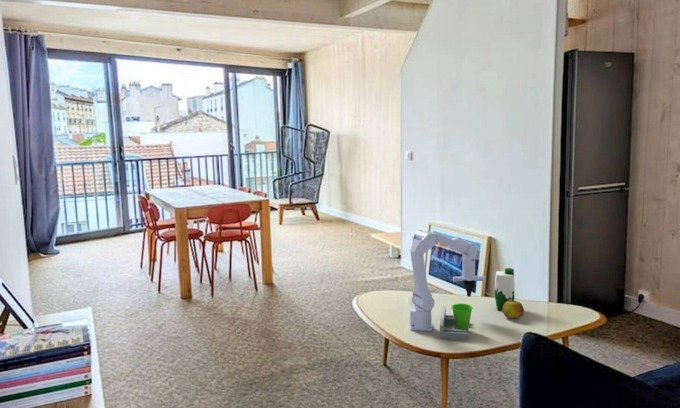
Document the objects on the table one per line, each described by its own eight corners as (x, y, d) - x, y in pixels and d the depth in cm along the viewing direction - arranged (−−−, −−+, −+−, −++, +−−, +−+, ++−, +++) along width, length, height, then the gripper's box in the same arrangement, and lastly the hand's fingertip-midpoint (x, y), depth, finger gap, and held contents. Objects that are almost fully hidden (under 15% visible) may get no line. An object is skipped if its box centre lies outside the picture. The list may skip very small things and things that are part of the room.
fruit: (515, 313, 236) (515, 297, 235) (528, 319, 227) (528, 302, 226) (498, 316, 233) (498, 299, 232) (510, 322, 225) (510, 305, 224)
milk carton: (514, 312, 237) (515, 271, 234) (495, 311, 240) (495, 271, 237) (513, 306, 246) (513, 267, 243) (494, 305, 248) (494, 266, 245)
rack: (440, 339, 210) (440, 323, 209) (442, 320, 230) (442, 306, 229) (468, 340, 207) (467, 324, 206) (467, 322, 227) (467, 307, 226)
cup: (474, 334, 213) (474, 310, 212) (453, 335, 214) (453, 310, 212) (470, 326, 222) (470, 303, 220) (450, 327, 223) (449, 303, 221)
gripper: (454, 270, 227) (454, 298, 229) (486, 269, 225) (486, 298, 227) (452, 266, 234) (452, 293, 236) (483, 265, 232) (483, 293, 234)
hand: (468, 295), depth 232 cm, fingers closed
